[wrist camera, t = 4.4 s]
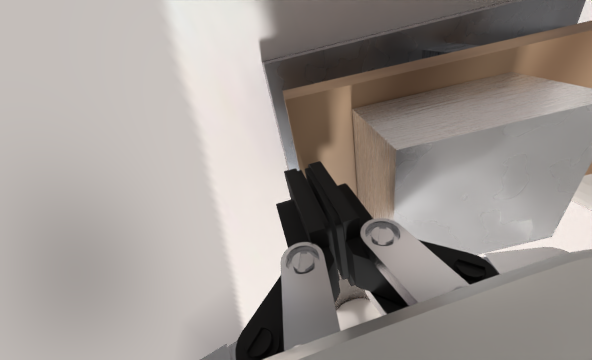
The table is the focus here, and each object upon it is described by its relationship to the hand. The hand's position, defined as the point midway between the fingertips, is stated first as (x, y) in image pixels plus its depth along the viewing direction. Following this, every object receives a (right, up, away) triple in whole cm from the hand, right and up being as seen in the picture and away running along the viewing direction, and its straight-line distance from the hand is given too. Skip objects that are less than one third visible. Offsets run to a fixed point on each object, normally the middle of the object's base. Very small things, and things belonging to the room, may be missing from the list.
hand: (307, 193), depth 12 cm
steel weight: (+6, +2, +1) cm, 6 cm away
